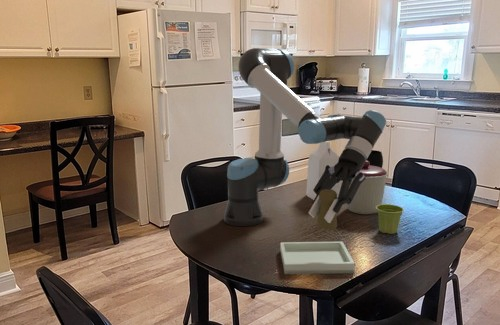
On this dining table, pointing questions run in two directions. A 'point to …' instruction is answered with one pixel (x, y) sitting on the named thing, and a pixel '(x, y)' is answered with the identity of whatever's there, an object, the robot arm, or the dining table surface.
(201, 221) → the dining table surface
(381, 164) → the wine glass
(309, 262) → the tray
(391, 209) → the plant pot
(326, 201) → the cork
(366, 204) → the canister
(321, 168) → the milk
